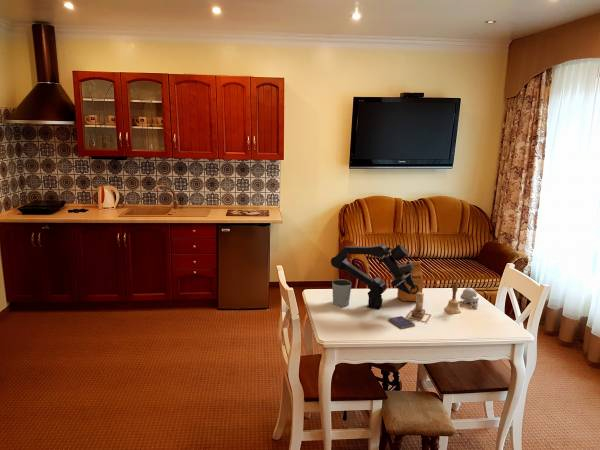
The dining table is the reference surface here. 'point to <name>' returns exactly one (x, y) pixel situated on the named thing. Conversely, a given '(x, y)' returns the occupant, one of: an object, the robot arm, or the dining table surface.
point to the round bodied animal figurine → (470, 297)
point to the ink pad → (401, 322)
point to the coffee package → (417, 281)
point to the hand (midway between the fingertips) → (412, 291)
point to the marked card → (425, 319)
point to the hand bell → (453, 301)
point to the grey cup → (341, 292)
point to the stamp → (419, 307)
